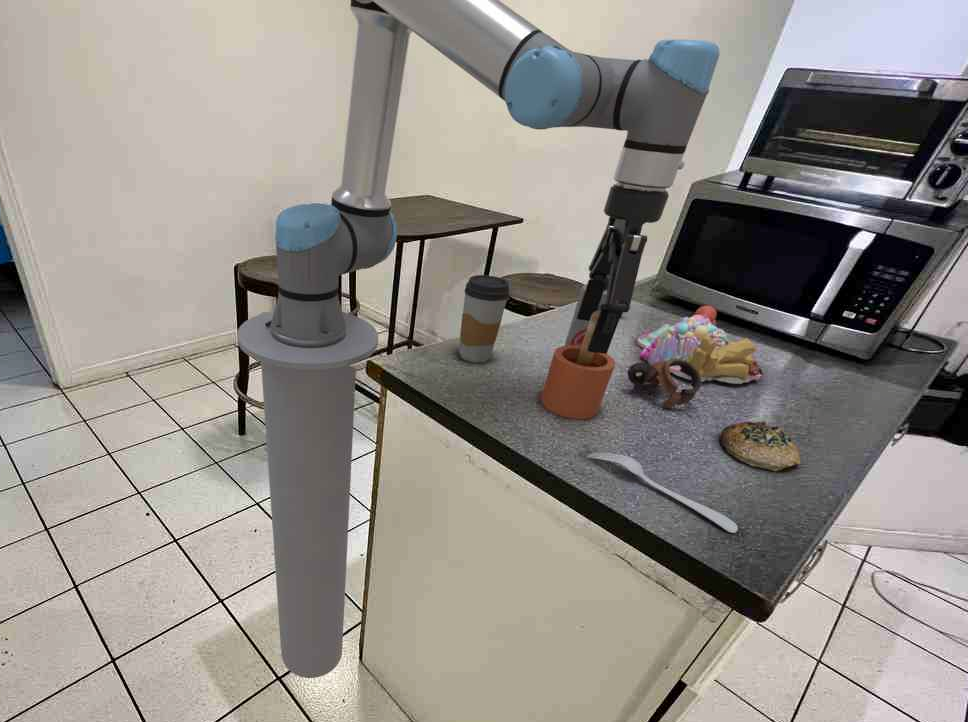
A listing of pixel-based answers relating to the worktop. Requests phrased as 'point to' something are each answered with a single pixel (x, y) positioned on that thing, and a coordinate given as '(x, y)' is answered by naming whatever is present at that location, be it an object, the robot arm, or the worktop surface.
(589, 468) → the worktop surface
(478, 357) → the coffee cup
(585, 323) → the lotion bottle
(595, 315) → the scrub brush
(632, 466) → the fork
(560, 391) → the jar
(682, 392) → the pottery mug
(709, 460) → the worktop surface
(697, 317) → the candy landscape model
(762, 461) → the bread roll
